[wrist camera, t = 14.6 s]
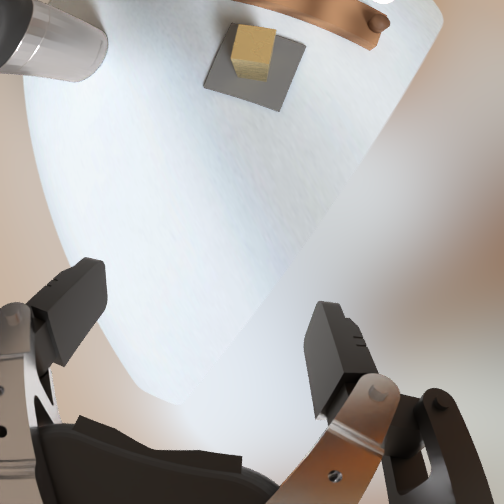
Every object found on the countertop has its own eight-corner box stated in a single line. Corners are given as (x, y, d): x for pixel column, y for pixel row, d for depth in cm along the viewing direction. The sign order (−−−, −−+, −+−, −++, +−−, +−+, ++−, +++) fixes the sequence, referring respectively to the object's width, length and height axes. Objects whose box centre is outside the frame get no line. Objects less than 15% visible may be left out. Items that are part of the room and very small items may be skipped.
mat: (204, 88, 31) (203, 87, 30) (232, 24, 27) (231, 22, 27) (279, 112, 32) (279, 111, 32) (305, 47, 28) (306, 46, 28)
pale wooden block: (237, 77, 30) (230, 58, 22) (243, 49, 28) (238, 24, 20) (266, 81, 30) (268, 64, 22) (272, 54, 28) (276, 29, 20)
